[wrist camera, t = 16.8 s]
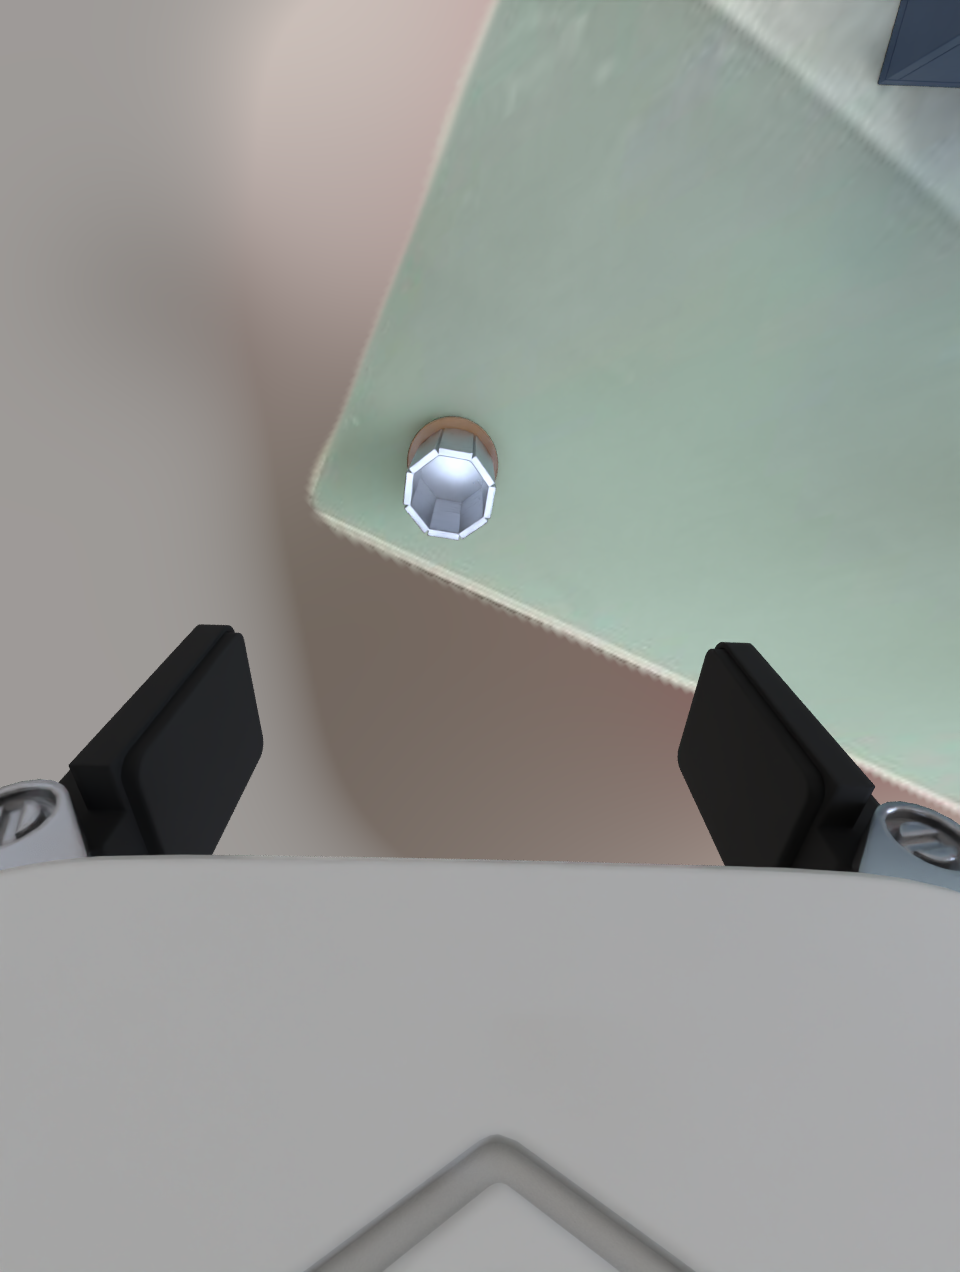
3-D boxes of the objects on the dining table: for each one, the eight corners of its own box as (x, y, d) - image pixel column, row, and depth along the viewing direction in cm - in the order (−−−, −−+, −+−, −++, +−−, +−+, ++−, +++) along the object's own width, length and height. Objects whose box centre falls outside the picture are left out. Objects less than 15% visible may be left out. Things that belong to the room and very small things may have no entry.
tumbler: (401, 458, 34) (385, 485, 28) (461, 412, 32) (458, 430, 27) (446, 518, 35) (440, 554, 30) (505, 476, 34) (511, 506, 29)
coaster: (389, 452, 34) (388, 454, 33) (462, 395, 32) (462, 396, 32) (444, 524, 36) (443, 526, 36) (515, 474, 35) (515, 476, 34)
